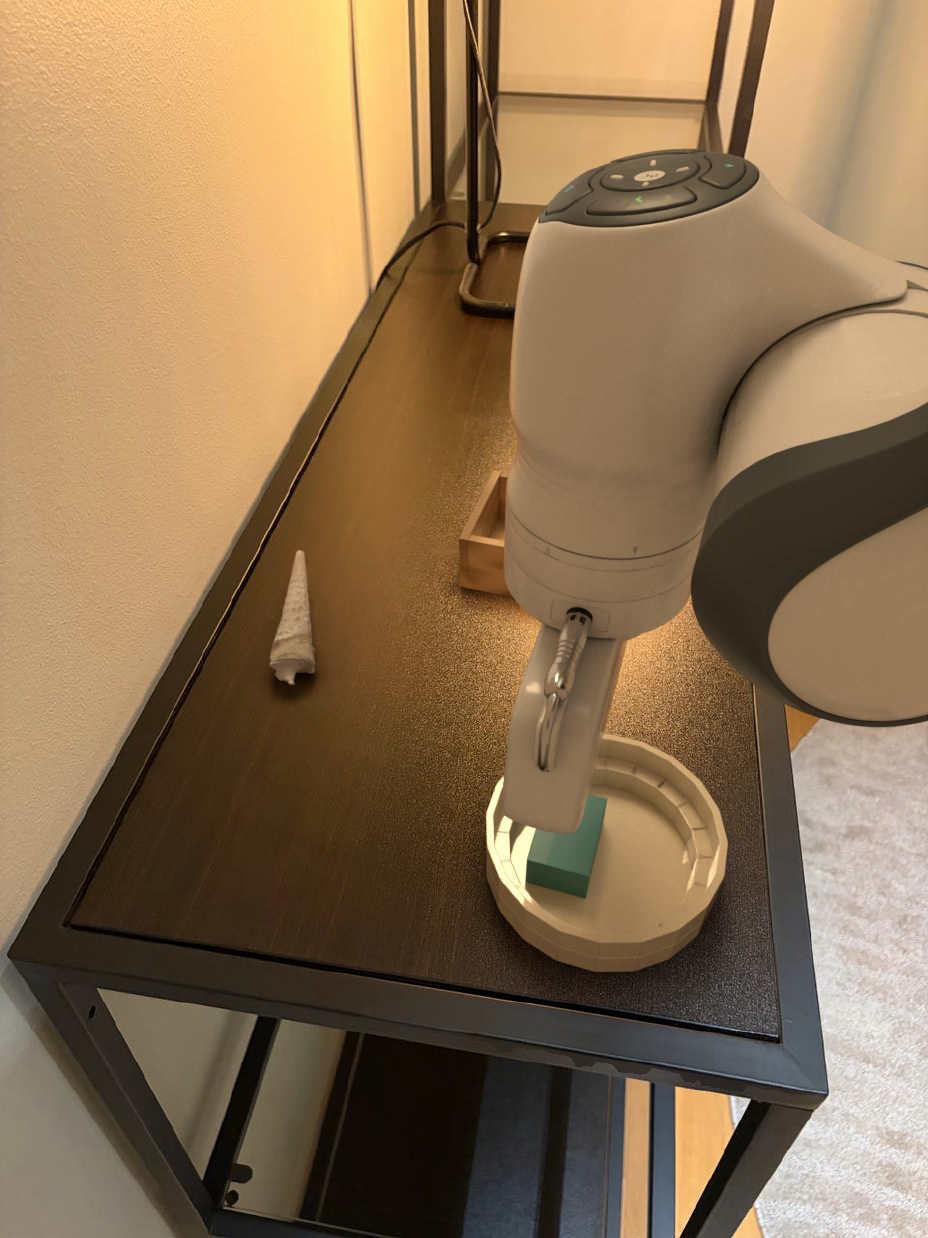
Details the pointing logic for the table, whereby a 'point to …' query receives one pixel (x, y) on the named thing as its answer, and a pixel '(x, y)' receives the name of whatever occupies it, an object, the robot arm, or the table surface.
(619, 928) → the bowl
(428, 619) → the table surface
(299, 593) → the seashell
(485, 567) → the holder
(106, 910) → the table surface
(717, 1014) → the table surface
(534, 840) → the teal rectangular block
